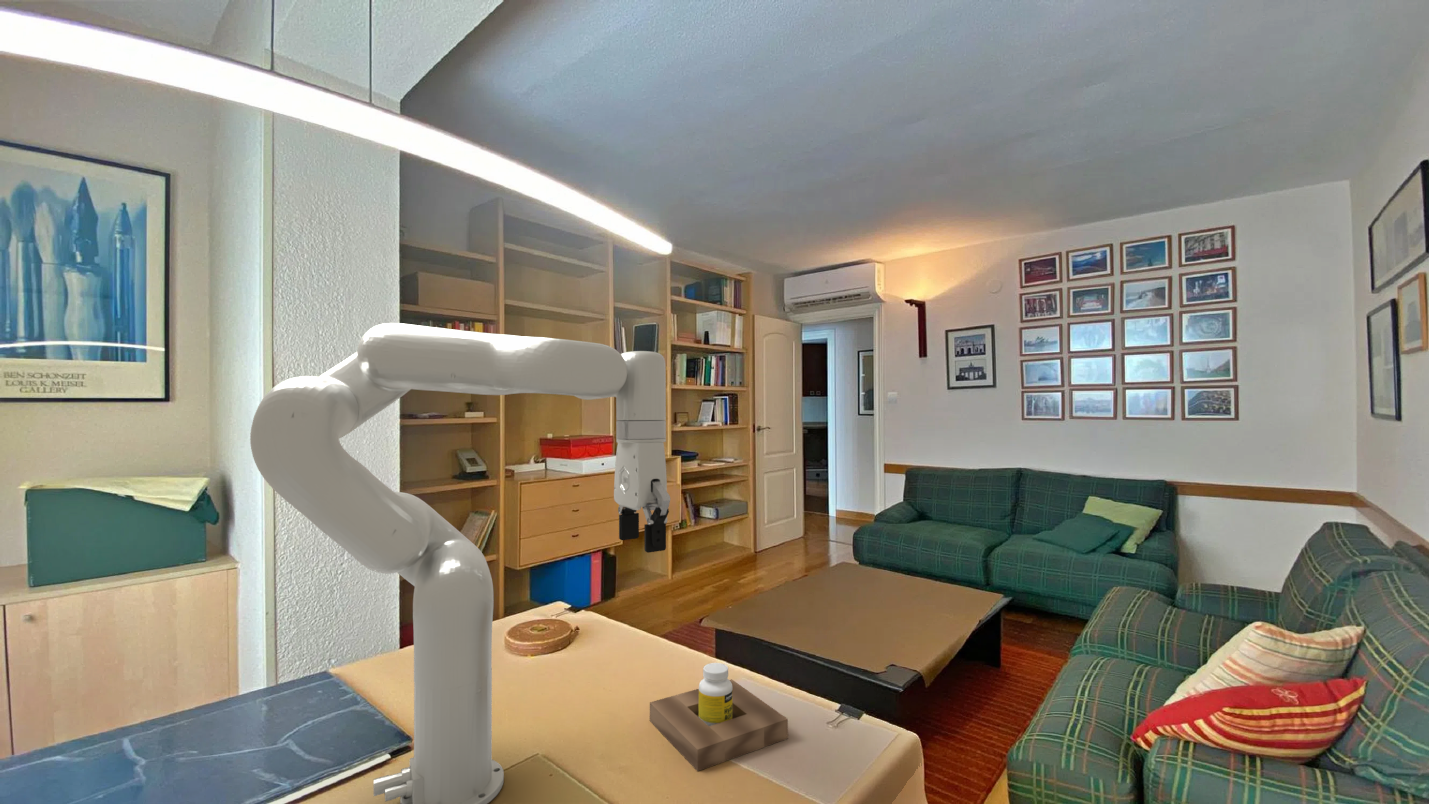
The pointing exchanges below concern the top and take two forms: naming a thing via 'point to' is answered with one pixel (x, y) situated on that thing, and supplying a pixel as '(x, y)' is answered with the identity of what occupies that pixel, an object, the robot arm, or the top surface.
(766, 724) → the socket block
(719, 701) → the supplement bottle
